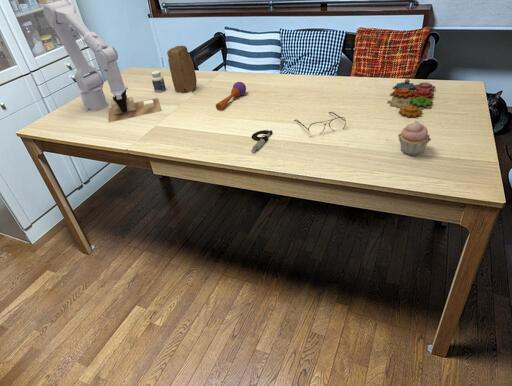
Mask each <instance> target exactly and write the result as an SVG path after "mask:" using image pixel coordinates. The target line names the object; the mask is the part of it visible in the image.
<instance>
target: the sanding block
mask: <svg viewBox="0 0 512 386" xmlns="http://www.w3.org/2000/svg"><path fill="white" fill-rule="evenodd" d="M134 103H135V101H134V98H133V96H129V97H128V96H127V99H126V104H127V112H122V111H121V109H120V107H119V106H118V104H117V103H116V102H115V101H114V100H113V99H112V100H110V106H111V108H112V109H113V112H114V115H115V116H116V115H120V114H125V113H130V112H134V111H136V107H135V104H134Z"/></svg>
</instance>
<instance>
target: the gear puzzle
mask: <svg viewBox="0 0 512 386" xmlns="http://www.w3.org/2000/svg"><path fill="white" fill-rule="evenodd" d="M410 82H411V80H410V79H409V78H405V80H404V82H400V83H399V82H397V83H396V85H395V86H392V87H391V88H392V90H393V91H392V92H390V94H389V96H390V97H392V98H391V100H390V99H389V100H387V103H386V104H387V105H388V104H389V106H390V107H395V108H396V109H399V110H398V113H399V114H401V116H405V117H407V118H411V117H413V118H416V117H417V116H419V117H420V116H422V113H423V111H424V110H431V109H432V104H434V102H433V98H434V96H435V93H434V92H435V89H436V86H435V85H433V84H431V83H430V82H427V81H425V82H419V84H414V83H410Z"/></svg>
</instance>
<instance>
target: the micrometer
mask: <svg viewBox="0 0 512 386" xmlns="http://www.w3.org/2000/svg"><path fill="white" fill-rule="evenodd" d="M272 134H273V130H272V129H271V130H267V129H263V130H258V131H256V132H254V133H253V134H252V135H251V139H252V140H253V141H257V142H256V143H255V144H254V145H253V146H252V149H251V150H250V152H251V153H252V154H255V153H256V152H258V151H259V150H260V149H261V147H263V146H264V144H265V143H266V142H268V140H269V136H270V135H272ZM259 135H261V136H259Z"/></svg>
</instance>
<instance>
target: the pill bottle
mask: <svg viewBox="0 0 512 386" xmlns="http://www.w3.org/2000/svg"><path fill="white" fill-rule="evenodd" d="M151 76H152V77H151V82H152V86H153V89H154V92H155V93H164V92H166V91H167V88H166V83H165V79H164V76H163V75H161V71H160V70H154V71H152V72H151Z"/></svg>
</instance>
